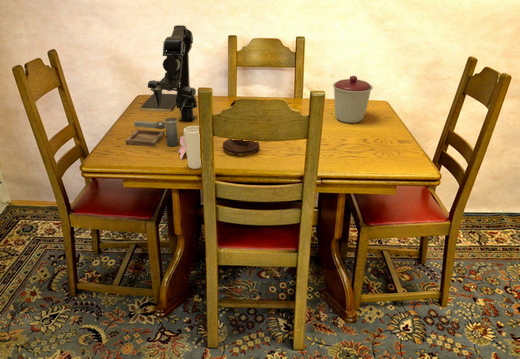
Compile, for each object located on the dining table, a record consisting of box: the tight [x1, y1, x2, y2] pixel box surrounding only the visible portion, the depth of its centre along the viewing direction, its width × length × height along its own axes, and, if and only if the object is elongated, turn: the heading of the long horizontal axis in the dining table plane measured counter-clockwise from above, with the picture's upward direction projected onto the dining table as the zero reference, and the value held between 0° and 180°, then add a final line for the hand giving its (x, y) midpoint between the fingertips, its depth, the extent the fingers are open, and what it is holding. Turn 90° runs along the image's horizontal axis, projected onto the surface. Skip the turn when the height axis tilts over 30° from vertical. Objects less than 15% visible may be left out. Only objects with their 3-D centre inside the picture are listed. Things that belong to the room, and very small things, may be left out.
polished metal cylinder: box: [164, 117, 179, 148], centre depth 187 cm, size 5×5×11 cm
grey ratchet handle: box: [133, 120, 166, 130], centre depth 207 cm, size 14×4×2 cm, turn 81°
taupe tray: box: [125, 128, 166, 148], centre depth 194 cm, size 12×12×2 cm
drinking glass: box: [183, 125, 202, 170], centre depth 168 cm, size 7×7×15 cm
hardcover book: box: [139, 93, 177, 112], centre depth 236 cm, size 16×23×2 cm
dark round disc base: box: [222, 99, 260, 157], centre depth 181 cm, size 15×15×20 cm
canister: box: [332, 75, 373, 124], centre depth 213 cm, size 18×18×21 cm
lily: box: [177, 135, 186, 160], centre depth 180 cm, size 12×12×10 cm
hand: (169, 109), depth 187 cm, fingers open, 9 cm apart
